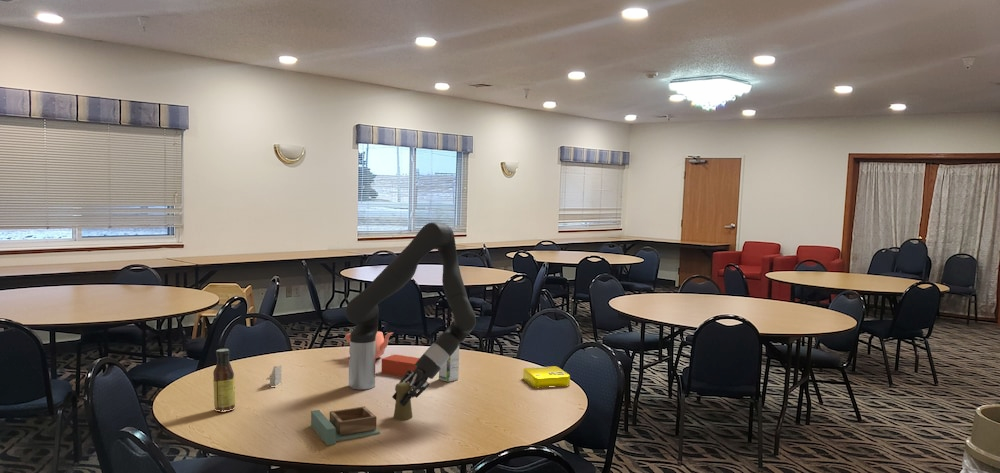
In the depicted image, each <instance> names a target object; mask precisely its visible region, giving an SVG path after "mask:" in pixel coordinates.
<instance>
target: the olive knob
mask: <svg viewBox="0 0 1000 473" xmlns="http://www.w3.org/2000/svg"><path fill="white" fill-rule="evenodd" d="M409 388H410V384H409V383H406V382H401V383H399V382H398V383H396V385H395V387H394V390H395V393H397V396H396V400H395V404H394V411H393V419H394V420H396V421H397V420H398V421H408V420H410V419H412V418H413V408H412V402H411V400H412V399H410V400H409V401H408V403H407V404H406V405H405V406H402V405H401V404H400V403H399V401H400V400H401V399H402V397H403V396H404V395H405V394H406V393H407V392H408V390H409ZM407 394H408V393H407Z"/></svg>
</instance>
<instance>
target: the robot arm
mask: <svg viewBox="0 0 1000 473" xmlns="http://www.w3.org/2000/svg"><path fill="white" fill-rule="evenodd" d="M454 233H455V232H454V231H453V228H452V227H451V226H450V225H449V224H446V223H442V222H428V223H426V224H424V226H423V227H422V228H421V229H420V230H419V231H418V232H417V234H416V235H415V236H414V237H413V239H412V240H411V241H410V242H409V243H408V245H407V246H406V247H405V248H404V249H403V250H402V251H401V252H399V253H398V255H397V256H396V257H395V258H394V259H393V260H392V261H391V262H390V263H389V264H388V265H387V266H386V267H385V268H383V269H382V271H381V272H380V273H379V274H378V275H377V276H376V277H375V278H374V279H373V280H372V282H370V284H369V285H367V287H366V288H365V289H363V290H362V291H361V292H360V293H359V294H357V295H356V296H355V297H354V298H352V299H351V300H350V301H349V302H348V303H347V305H346V306H345V307H346V308H345V312H344V313H345V318H346V319H347V320H348V321H349V322H350V323H352V324H356V325H355V328H354V329H353V330H352V331H351V332H350V333H351V334H350V344H349V349H350V353H349V359H348V386H349V387H350V388H351V389H354V390H369V389H373V388H375V387H376V358H375V338H376V334H377V331H378V329H379V314H380V312H379V304H380V303H381V302H383V301H384V300H386V299H388V298H389V297H391V296H392V295H394V294H395V293H397V292H398V291H400V290H401V289H403V287H405V286H406V285H407V284H408V283H409V282H410V281H411V280H412V278H413V277H414V276H415V273H416V271H417V269H418V266H419V263H420V262H421V261H422V260H423V258H424V257H426V256H427V254H429V253H430V252H432V251H433V250H437V251H438V253H439V255H440V257H441V262H442V279H441V280H442V287H443V292H444V294H445V295H444V296H445V298H446V301H447V304H448V306H449V308H450V309H451V312H452V316H453V321H452V322H451V323H450V325H449V326H448V327H447V329H446V330H445V331H444V332H442V334H440V335H439V336H438V337H437V339H436V340H435V341H434V342H433V343H432V344H431V345H430V346H428V348H427V349H426V350H425V352H423V353H422V355H421V356H420V357H418V358H419V360H418V361H417V362H416V363H415V365H416V367H417V368H416V369H415V370H414V371H413V372H411V371H410V370H408V371H407V372H406V374H405V375H404V377H403V376H402V378H401V379H400V381H399V382H398V383H401V382H406V383H409V384H410V388H409V390H408V392H407V393H408V394H407V393H406V394H405V395H404V396H403V397H402V399H401V400H400V401H399V403H400V404H401V405H402V406H405V405H406V404H407V403H408V401H409V400H412V399H413V398H418V397H419V396H420V395H421V394H422V393H423V392H424V391H425V390H426V389H427V388H429V387H430V383H429V382H428V379H434V378H435V376H436V375H437V374H439V370H440V369H441V368H442V367H443V366H444V364H445V363H446V362H447V360H448V359H449V357H450V356H451V355H452V354H453V353H454V351H455V350H456V349H457V347H458V346H459V347H460V345H461V343H463V341H464V340H465V339H466V338H467V337H468V336H469V335H470V334H471V333H472V331H473V330H474V328H475V327H476V324H477V319H476V315H475V311H474V309H473V307H472V305H471V303H470V300H469V298H468V297H469V296H468V293H467V290H466V286H465V284H464V281H463V276H462V274H461V270H460V265H459V264H460V263H459V258H458V252H457V244H456V238H455V234H454ZM378 332H379V331H378ZM396 396H397V393H396V392H394V393H393V395H392V396H391V397H392V399H393V400H394V401H396Z"/></svg>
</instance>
